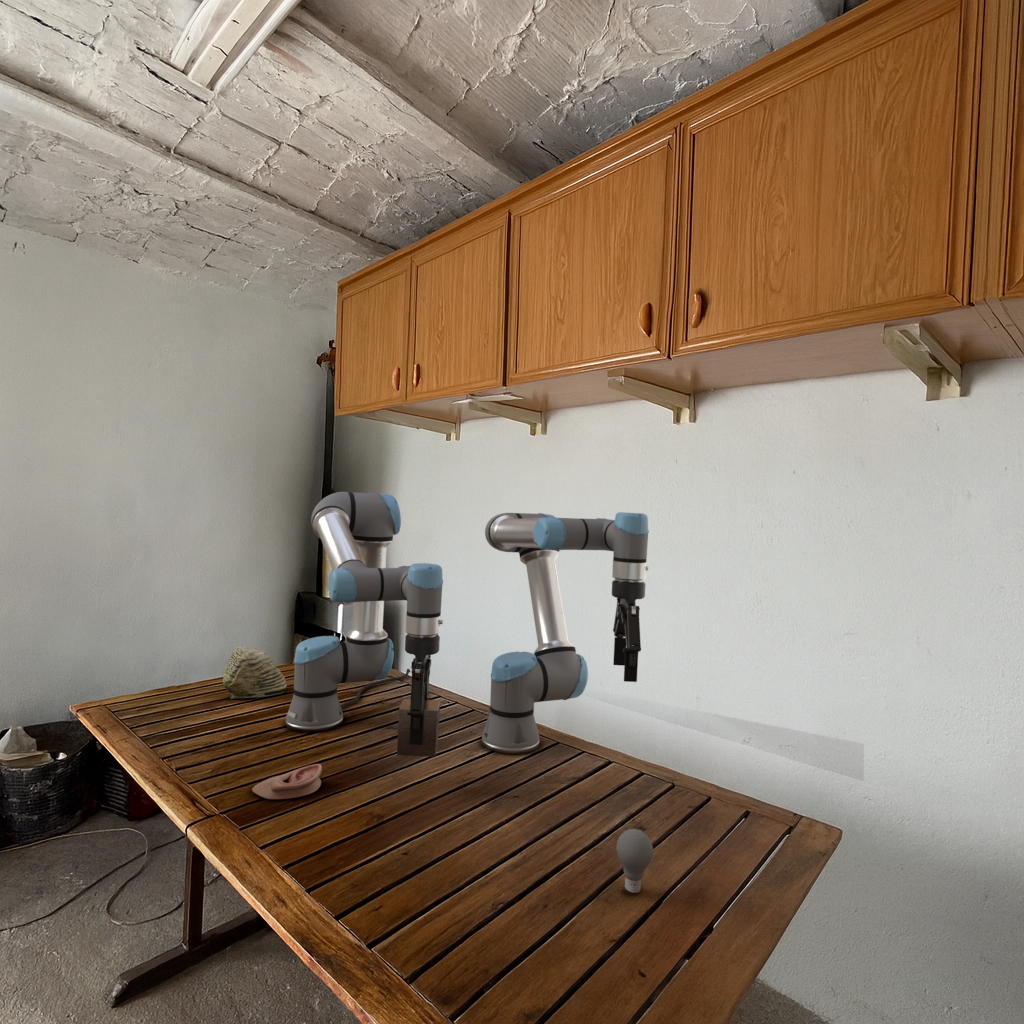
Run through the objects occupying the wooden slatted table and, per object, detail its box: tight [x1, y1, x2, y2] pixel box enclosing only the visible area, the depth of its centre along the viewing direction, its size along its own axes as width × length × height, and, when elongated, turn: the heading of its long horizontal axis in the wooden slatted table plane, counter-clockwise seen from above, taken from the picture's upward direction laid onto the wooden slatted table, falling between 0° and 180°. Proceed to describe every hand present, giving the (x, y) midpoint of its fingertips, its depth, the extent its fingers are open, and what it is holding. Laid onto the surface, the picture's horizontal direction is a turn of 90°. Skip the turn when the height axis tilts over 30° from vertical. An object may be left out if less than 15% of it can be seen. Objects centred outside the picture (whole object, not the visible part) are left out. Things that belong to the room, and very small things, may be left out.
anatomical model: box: [251, 763, 323, 800], centre depth 137 cm, size 13×4×12 cm
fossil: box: [222, 646, 288, 699], centre depth 198 cm, size 9×18×15 cm, turn 132°
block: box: [396, 698, 441, 758], centre depth 140 cm, size 8×6×10 cm
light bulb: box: [615, 828, 654, 894], centre depth 106 cm, size 6×6×10 cm
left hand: (418, 737), depth 140 cm, fingers closed on block, 6 cm apart
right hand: (624, 672), depth 145 cm, fingers open, 13 cm apart
